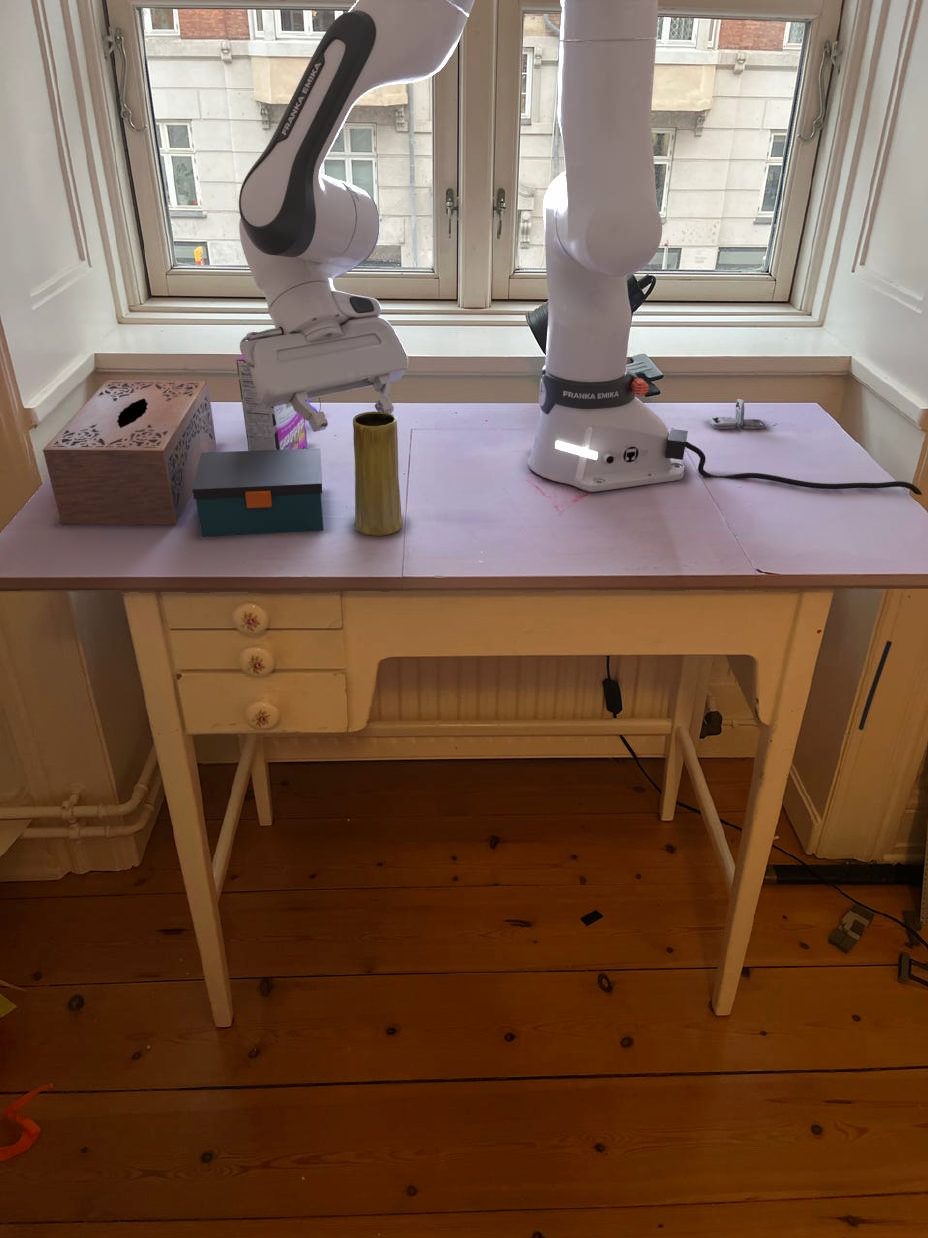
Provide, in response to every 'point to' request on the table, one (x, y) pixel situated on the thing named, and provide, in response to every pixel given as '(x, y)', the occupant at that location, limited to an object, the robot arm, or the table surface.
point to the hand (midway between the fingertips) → (354, 421)
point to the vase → (376, 474)
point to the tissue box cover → (131, 453)
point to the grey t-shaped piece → (739, 416)
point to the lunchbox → (259, 491)
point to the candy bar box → (268, 418)
